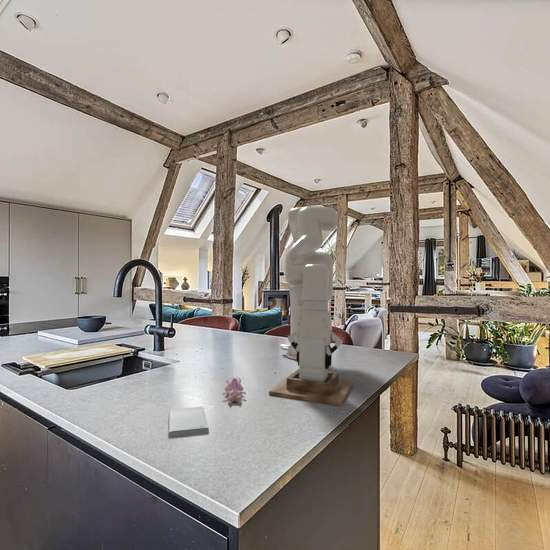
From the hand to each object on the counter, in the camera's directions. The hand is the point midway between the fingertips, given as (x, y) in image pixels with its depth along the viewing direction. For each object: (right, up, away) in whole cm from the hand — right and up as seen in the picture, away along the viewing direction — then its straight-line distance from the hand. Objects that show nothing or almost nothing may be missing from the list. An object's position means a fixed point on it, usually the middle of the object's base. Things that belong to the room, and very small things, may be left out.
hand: (313, 365), depth 105 cm
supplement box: (0, -4, 0) cm, 4 cm away
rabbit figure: (-23, -7, -7) cm, 25 cm away
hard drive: (-31, -7, -25) cm, 40 cm away
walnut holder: (0, -7, 0) cm, 7 cm away
